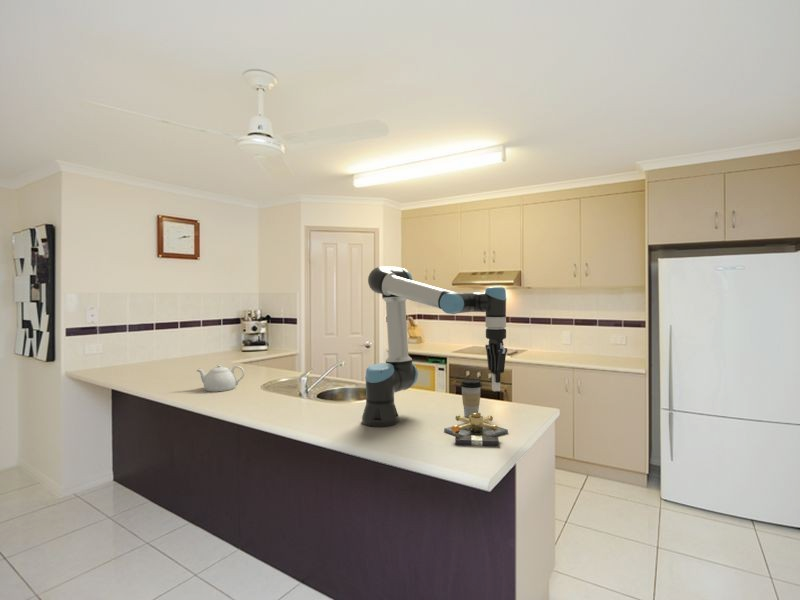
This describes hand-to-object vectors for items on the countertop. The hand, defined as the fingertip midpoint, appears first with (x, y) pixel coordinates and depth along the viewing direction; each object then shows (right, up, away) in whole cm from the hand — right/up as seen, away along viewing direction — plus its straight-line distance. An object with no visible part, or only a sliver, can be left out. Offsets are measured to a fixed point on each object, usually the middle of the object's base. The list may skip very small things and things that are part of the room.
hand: (496, 390), depth 168 cm
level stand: (-8, -16, -3) cm, 18 cm away
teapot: (-137, -16, +82) cm, 160 cm away
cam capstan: (-9, -15, 0) cm, 17 cm away
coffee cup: (-5, -16, +25) cm, 30 cm away
